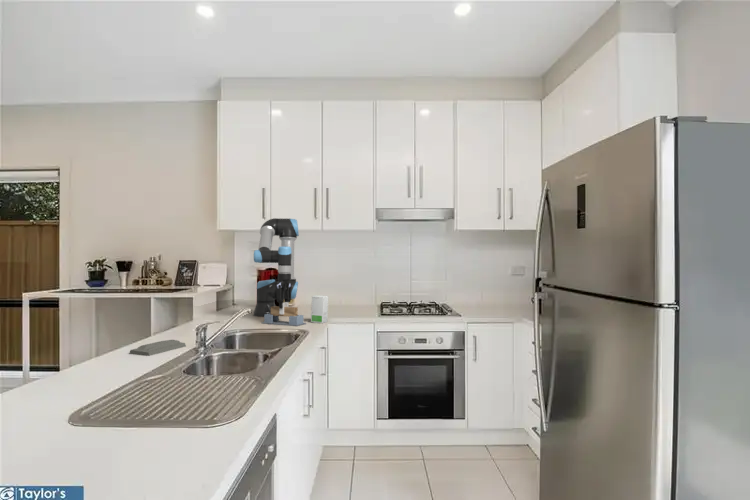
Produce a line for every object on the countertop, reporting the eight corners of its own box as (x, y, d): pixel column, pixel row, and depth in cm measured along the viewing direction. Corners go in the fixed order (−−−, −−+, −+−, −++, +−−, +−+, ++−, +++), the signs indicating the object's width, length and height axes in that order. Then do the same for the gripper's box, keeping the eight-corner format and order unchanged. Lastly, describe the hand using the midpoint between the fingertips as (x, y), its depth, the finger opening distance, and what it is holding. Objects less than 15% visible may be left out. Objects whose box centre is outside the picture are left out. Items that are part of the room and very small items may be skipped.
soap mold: (128, 355, 174) (128, 346, 174) (167, 346, 193) (167, 337, 193) (149, 357, 170) (149, 348, 170) (186, 347, 189) (187, 339, 189)
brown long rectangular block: (274, 314, 263) (274, 306, 263) (297, 316, 256) (297, 307, 257) (270, 315, 259) (270, 306, 260) (294, 316, 253) (294, 307, 253)
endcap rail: (271, 321, 267) (271, 312, 268) (306, 323, 258) (306, 315, 258) (261, 323, 258) (261, 314, 258) (296, 326, 249) (296, 317, 249)
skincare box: (310, 322, 265) (310, 296, 265) (316, 321, 271) (316, 295, 271) (323, 323, 261) (323, 296, 262) (328, 321, 268) (328, 295, 268)
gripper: (287, 272, 268) (286, 312, 267) (270, 273, 253) (269, 314, 252) (297, 273, 265) (297, 312, 264) (281, 273, 250) (280, 315, 249)
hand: (283, 313), depth 258 cm, fingers closed on brown long rectangular block, 3 cm apart
